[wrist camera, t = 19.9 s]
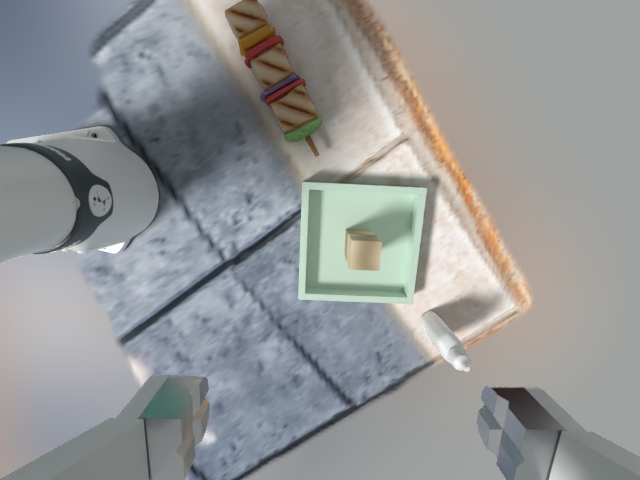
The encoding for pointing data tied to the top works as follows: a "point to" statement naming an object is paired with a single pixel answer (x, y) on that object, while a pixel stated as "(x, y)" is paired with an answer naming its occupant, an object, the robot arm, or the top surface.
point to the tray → (361, 214)
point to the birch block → (362, 250)
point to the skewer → (274, 71)
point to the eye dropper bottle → (445, 341)
